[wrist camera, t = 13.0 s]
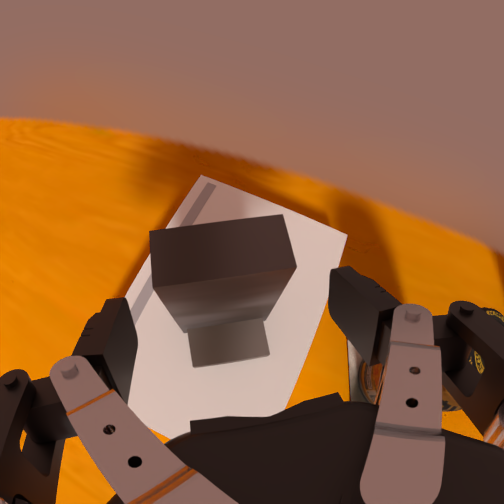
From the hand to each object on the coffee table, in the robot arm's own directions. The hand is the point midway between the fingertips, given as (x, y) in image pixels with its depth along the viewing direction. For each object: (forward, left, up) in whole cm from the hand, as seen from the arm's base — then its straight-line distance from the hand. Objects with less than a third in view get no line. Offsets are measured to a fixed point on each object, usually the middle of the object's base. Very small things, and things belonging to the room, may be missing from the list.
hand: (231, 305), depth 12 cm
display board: (0, -2, -12) cm, 12 cm away
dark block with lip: (0, -1, -9) cm, 9 cm away
